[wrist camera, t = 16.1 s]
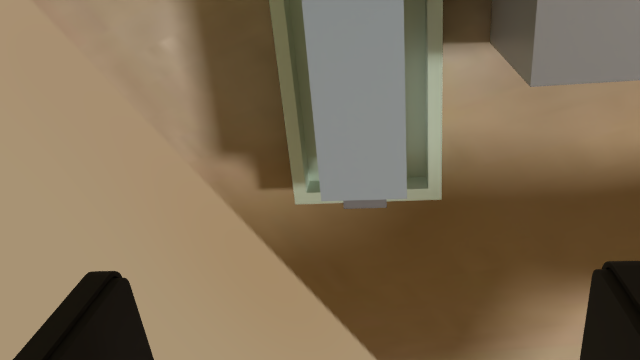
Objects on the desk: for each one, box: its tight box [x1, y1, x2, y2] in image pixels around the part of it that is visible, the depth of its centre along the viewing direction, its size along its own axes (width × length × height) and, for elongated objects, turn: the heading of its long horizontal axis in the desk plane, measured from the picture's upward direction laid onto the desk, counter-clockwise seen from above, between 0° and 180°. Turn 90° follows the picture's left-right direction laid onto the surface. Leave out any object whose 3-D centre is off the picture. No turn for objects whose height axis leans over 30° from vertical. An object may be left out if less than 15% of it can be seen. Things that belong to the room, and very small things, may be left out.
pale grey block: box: [302, 0, 407, 209], centre depth 28 cm, size 5×13×6 cm, turn 5°
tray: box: [269, 0, 443, 204], centre depth 31 cm, size 9×16×2 cm, turn 5°
